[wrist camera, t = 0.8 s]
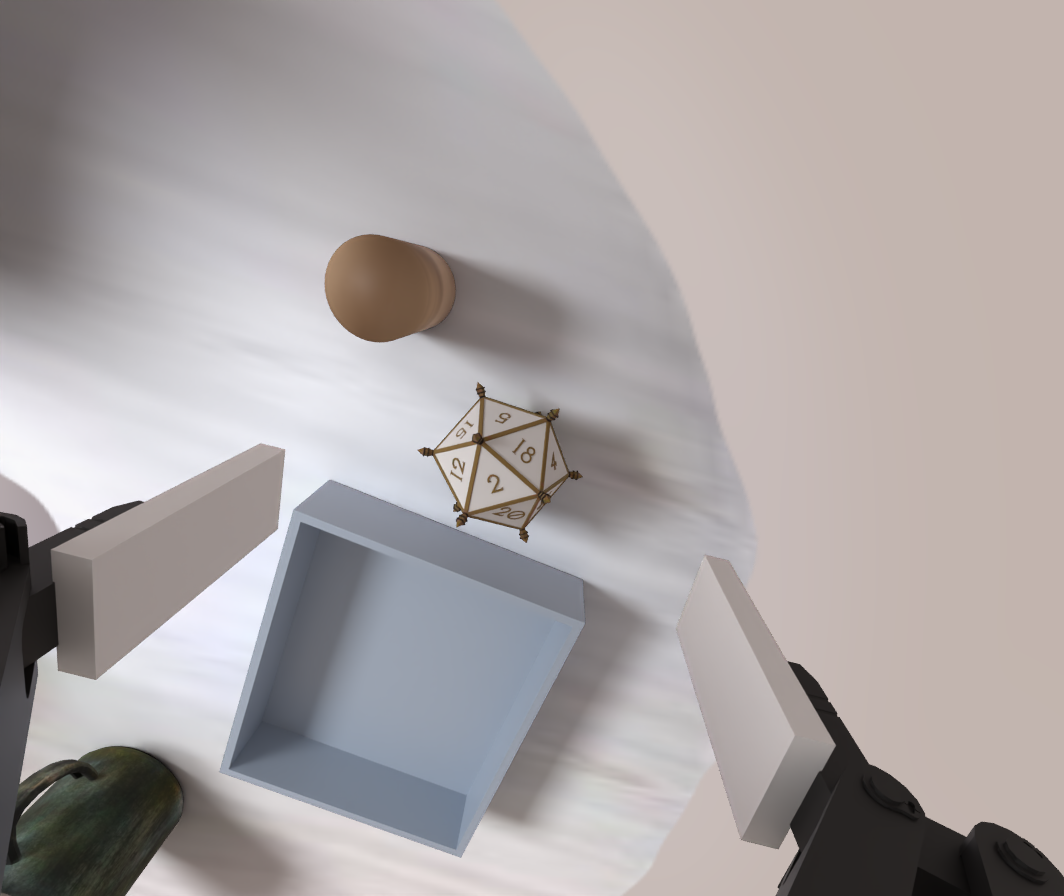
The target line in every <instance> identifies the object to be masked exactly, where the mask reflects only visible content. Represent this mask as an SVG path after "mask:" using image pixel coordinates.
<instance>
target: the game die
mask: <svg viewBox="0 0 1064 896" xmlns="http://www.w3.org/2000/svg"><path fill="white" fill-rule="evenodd" d="M484 388H485V387H483V386H482V385H481V384H479V383H478V384H477V388H476V390H477V394H478V395H479V397H480V399H479V400H478V401H477V402H476V403H475V404H474V405H473V407H472V408H471V409H470V410H469V411H468V412H467V413H466V414H465V416H464V417H463V418H462V419H461V420H460V421H459V422H458V423H457V425H456V426H455V427H454V428H453V429H452V430H451V431H450V433H449V434H448V435H447V436H446V437H445V438H444V439H443V440H442V442H441V443H440V444H439V445H438V446H437V447H436V448H435V449H434V450H431V449H429V448H425V447H424V448H422V449H419V450H418V451H419V452H420V453H421V454H422V455H423V456H427V457H428V456H431V455H432V456H433V457H434V459H435V461H436V463H437V465H438V467H439V469H440V470H441V472H442V474H443V476H444V478H445V480H446V482H447V484H448V486H449V488H450V490H451V492H452V494H453V495H454V497H455V499H456V501H457V502H456V504H454V507H453V509H454V510H453V512H459V511H460V510H461V511H462V513H463V514H461V515H459V518H457V519H456V522H457V525H456V527H458V526H461V525H465V522H467V517H470V518H474V519H478V520H483V521H487V522H491V523H495V524H499V525H503V526H507V527H511V528H515V529H519V530H520V534H519V535H520V539H522V540H523V541H525V542H526V543H527V540H528V537H529V535H528V534H527V533H528V532H527V531H526V530H525V527H526V526H527V525H528V524H529V523H530V521H531V520H532V519H533V518H534V517H535V516H536V514H537V513H538V512H539V511H540V510H541V509H542V507H543V506H544V505H545V504H546V503H550V502H551V501H550V498H551V497H552V496H553V494H554V493H555V492H556V491H557V490H558V489H559V487H560V486H561V485H562V484H563V483H564V482H565V480H566V479H567V478H568V477H570V478H571V479H575V480H577V479H579V478H581V477H583V476H582V475H581V474H579V473H578V471H577V472H575V471H572V472H569V470H568V468H567V465H566V462H565V459H564V457H563V454H562V451H561V449H560V446H559V443H558V440H557V438H556V435H555V432H554V429H553V427H552V424H551V421H552V420H555V418H556V417H557V418H558V413H559V409H555V410H550V411H551V412H550V413H548V416H547V417H545V416H542V415H541V412H535V413H533V412H530V411H527V410H524V409H521V408H518V407H515V406H512V405H509V404H506V403H503V402H500V401H497V400H494V399H491V398H488V397H486V396H485V392H486V391H485V390H484Z"/></svg>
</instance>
